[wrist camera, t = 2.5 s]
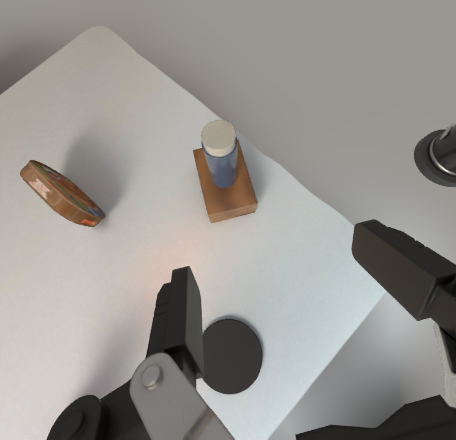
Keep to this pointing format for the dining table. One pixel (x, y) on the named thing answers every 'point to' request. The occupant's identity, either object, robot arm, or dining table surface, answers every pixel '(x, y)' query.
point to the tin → (61, 194)
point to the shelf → (226, 190)
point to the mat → (230, 356)
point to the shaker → (220, 152)
